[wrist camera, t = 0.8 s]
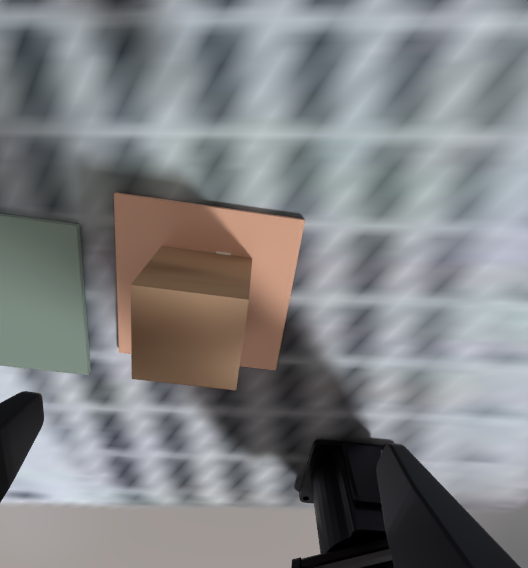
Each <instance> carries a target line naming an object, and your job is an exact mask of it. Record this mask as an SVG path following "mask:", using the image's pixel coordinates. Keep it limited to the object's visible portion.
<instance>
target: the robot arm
mask: <svg viewBox="0 0 528 568" xmlns="http://www.w3.org/2000/svg"><path fill="white" fill-rule="evenodd" d="M43 421H44V411H43V400H42V396H41V394H39V393H34V392H27V391H24V392H21V393H18V394H16V395H15V396H13V397H11V398H9V399H7V400H5V401H3V402H1V403H0V502H1V500H2V499H3V497H4V496H5V494H6V493H7V491H8V489H9V488H10V486H11V484H12V482H13V481H14V479H15V477H16V475H17V473H18V471H19V469H20V467H21V465H22V464H23V462H24V460H25V458H26V456H27V454H28V452H29V450H30V448H31V446H32V445H33V443H34V441H35V439H36V437H37V435H38V433H39V431H40V429H41V427H42V425H43ZM299 497H300V501H302V502H305V503H314V507H315V515H316V522H317V530H318V537H319V545H320V553H321V554H319V555H316V556H311V557H307V558H303V559H301V558H296V559H293V560H292V568H521V567H520V566H519V565H518V564H517V563H516V562H515V561H514V560H513V559H512V558H511V557H510V556H509V555H508V554H507V553H506V552H505V551H504V550H503V548H501V546H500V545H499V544H498V543H497V542H496V541H495V540H494V539H493V538H492V537H491V536H490V535H489V534H488V533H487V532H486V531H485V530H484V529H483V528H482V527H481V526H480V525H479V523H478V522H476V521H475V519H474V518H473V517H472V516H471V515H470V514H469V513H468V512H467V511H466V510H465V509H464V508H463V507H462V506H461V505H460V504H459V503H458V502H457V501H456V499H455V498H454V497H453V496H452V495H451V494H450V493H449V492H448V491H447V490H446V489H445V488H444V487H443V486H442V485H441V484H440V483H439V482H438V481H437V480H436V479H435V478H434V477H433V475H432V474H431V473H430V472H429V471H428V470H427V469H426V468H425V467H424V466H423V465H422V464H421V463H420V462H419V461H418V460H417V459H416V458H415V457H414V456H413V455H412V454H411V453H410V451H409V450H408V449H407V448H406V447H405V446H403V445H401V444H395V443H387V444H386V445H385V446H379V445H370V444H360V443H350V442H341V441H331V440H316V441H315V442H314V443H313V446H312V449H311V453H310V457H309V460H308V464H307V467H306V471H305V474H304V478H303V482H302V485H301V489H300V492H299Z"/></svg>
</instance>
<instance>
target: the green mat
mask: <svg viewBox="0 0 528 568" xmlns="http://www.w3.org/2000/svg"><path fill="white" fill-rule="evenodd" d="M0 365H1V366H10V367H19V368H29V369H38V370H47V371H56V372H65V373H74V374H83V375H88V374H89V373H90V371H91V368H90V355H89V342H88V328H87V315H86V302H85V288H84V275H83V262H82V249H81V235H80V224H76V223H68V222H61V221H53V220H46V219H39V218H31V217H24V216H17V215H9V214H2V213H0Z"/></svg>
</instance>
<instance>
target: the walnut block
mask: <svg viewBox="0 0 528 568" xmlns="http://www.w3.org/2000/svg"><path fill="white" fill-rule="evenodd" d="M251 268H252V258H247V257H239V256H232V255H224V254H217V253H209V252H202V251H194V250H187V249H179V248H172V247H164V246H161V247H160V248H159V250H158V251H157V252H156V253H155V255H154V256H153V257H152V259H151V260H150V261H149V262H148V264H147V265H146V266H145V267H144V269H143V270H142V271H141V272H140V274H139V275H138V276H137V277H136V279H135V280H134V281H133V282H132V284H131V285H130V286H131V352H132V379H138V380H147V381H156V382H165V383H174V384H183V385H192V386H201V387H210V388H220V389H229V390H236V388H237V381H238V374H239V366H240V359H241V352H242V345H243V338H244V331H245V324H246V317H247V310H248V303H249V293H250V280H251Z"/></svg>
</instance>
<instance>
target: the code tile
mask: <svg viewBox="0 0 528 568" xmlns="http://www.w3.org/2000/svg"><path fill="white" fill-rule="evenodd" d="M114 214H115V244H116V275H117V305H118V335H119V353H128V354H132V352H131V286H130V285H131V284H132V282H133V281H134V280H135V279H136V277H137V276H138V275H139V274H140V272H141V271H142V270H143V269H144V267H145V266H146V265H147V264H148V262H149V261H150V260H151V259H152V257H153V256H154V255H155V253H156V252H157V251H158V250H159V248H160V247H161V246H164V247H172V248H179V249H187V250H194V251H202V252H209V253H217V254H224V255H232V256H239V257H247V258H252V268H251V280H250V293H249V303H248V310H247V317H246V324H245V331H244V338H243V345H242V352H241V359H240V366H241V367H250V368H258V369H267V370H276V366H277V361H278V356H279V351H280V346H281V341H282V336H283V331H284V325H285V320H286V315H287V310H288V305H289V300H290V295H291V290H292V284H293V279H294V274H295V269H296V264H297V259H298V254H299V249H300V243H301V238H302V233H303V228H304V223H305V219H301V218H294V217H287V216H280V215H273V214H266V213H259V212H252V211H245V210H238V209H231V208H224V207H217V206H209V205H202V204H195V203H188V202H181V201H174V200H167V199H160V198H153V197H146V196H139V195H132V194H125V193H118V192H115V193H114Z"/></svg>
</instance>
